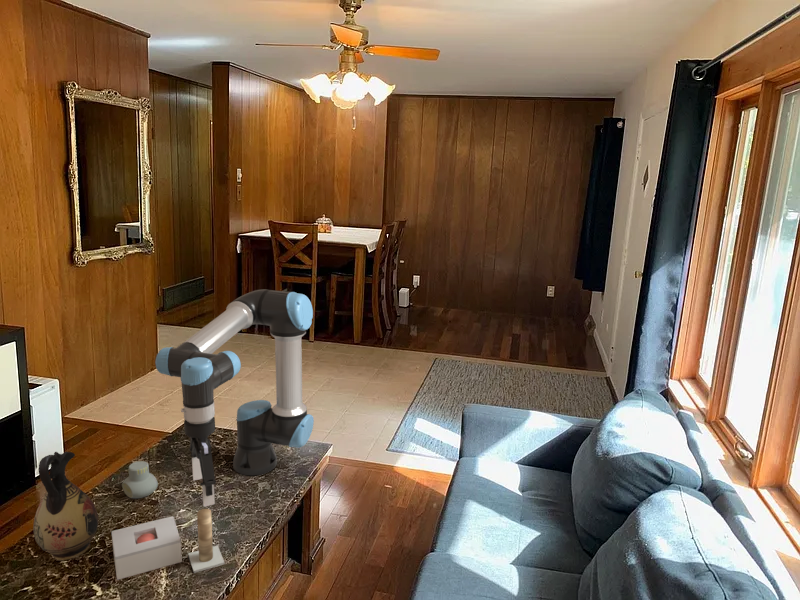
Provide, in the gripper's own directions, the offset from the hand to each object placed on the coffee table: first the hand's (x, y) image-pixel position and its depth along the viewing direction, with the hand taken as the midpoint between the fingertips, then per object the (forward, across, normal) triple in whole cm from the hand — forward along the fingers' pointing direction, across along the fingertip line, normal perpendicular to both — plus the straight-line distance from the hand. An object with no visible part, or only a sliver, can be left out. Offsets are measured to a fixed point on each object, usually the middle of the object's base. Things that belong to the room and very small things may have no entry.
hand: (203, 491), depth 159 cm
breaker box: (+21, -8, -14) cm, 26 cm away
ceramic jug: (+21, -20, -33) cm, 44 cm away
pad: (+21, 0, 0) cm, 21 cm away
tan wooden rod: (+20, 0, 0) cm, 20 cm away
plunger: (+20, -8, -14) cm, 26 cm away
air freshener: (+21, -42, -12) cm, 48 cm away
